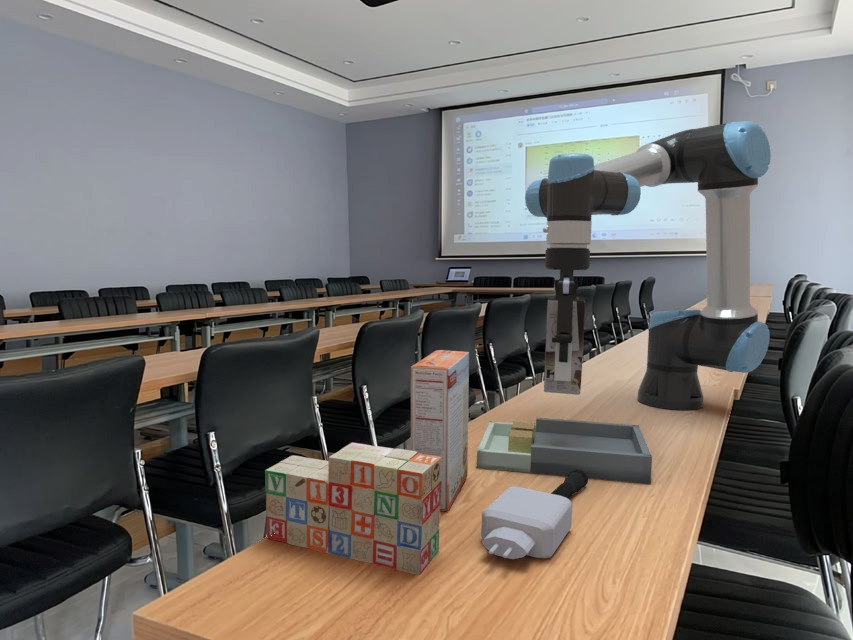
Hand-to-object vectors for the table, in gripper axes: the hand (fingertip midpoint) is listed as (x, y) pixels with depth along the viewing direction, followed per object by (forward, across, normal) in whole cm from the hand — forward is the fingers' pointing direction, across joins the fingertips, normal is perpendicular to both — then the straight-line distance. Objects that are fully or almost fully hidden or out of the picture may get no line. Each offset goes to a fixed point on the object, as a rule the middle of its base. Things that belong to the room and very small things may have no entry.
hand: (562, 374), depth 108 cm
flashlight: (+16, +20, +1) cm, 26 cm away
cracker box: (+15, +22, -18) cm, 32 cm away
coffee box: (+3, 0, 0) cm, 3 cm away
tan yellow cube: (+14, +3, -7) cm, 16 cm away
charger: (+15, +36, -4) cm, 39 cm away
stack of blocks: (+15, +41, -24) cm, 50 cm away
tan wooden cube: (+14, -2, -7) cm, 16 cm away
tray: (+15, 0, -9) cm, 18 cm away
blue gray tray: (+15, 0, +5) cm, 16 cm away
